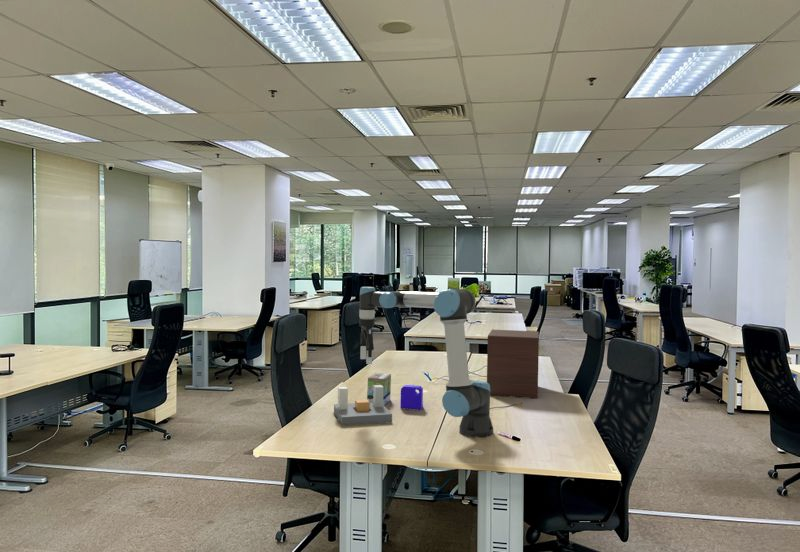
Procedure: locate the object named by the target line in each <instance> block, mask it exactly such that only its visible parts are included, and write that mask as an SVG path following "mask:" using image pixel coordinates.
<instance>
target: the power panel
mask: <svg viewBox="0 0 800 552" xmlns="http://www.w3.org/2000/svg"><path fill="white" fill-rule="evenodd" d="M333 413H334V415H335V416H336V418H337V420H338V422H339V423H340V425H341V426H342V427H344V426H358V425H359V426H360V425H361V426H362V425H376V424H375V423H377V424H387V423H386V422H392V423H393V413H392V412H391V411H390V410H389V409H388V408H387V407H386V406H385V405H383V407H376V408H375V406H374V405H373V402H370V411H358V412H356V411H355V402H352V403H350V402H349V403H348V409H340V410H339V408H338V403H336V404H335V403H334V404H333Z"/></svg>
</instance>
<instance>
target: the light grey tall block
mask: <svg viewBox="0 0 800 552" xmlns="http://www.w3.org/2000/svg"><path fill="white" fill-rule="evenodd" d="M383 392H384V387H383V386H382V385H373V405H374V406H375V408H376V407H383Z"/></svg>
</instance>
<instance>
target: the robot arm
mask: <svg viewBox="0 0 800 552" xmlns="http://www.w3.org/2000/svg"><path fill="white" fill-rule="evenodd" d="M395 307H397V308H398V307H401V308H402V307H403V308H405V307H406V308H407V307H408V308H424V309H425V308H426V309H434V311H435V313H436V314H437V315H438V316H439V322H440V323H441V324H443V327H444V338H445V349H446V361H447V370H448V371H447V372H448V381H447V383H446V384H445V392H444V394H443V395H442V397H441V399H442V400H441V402H442V407H443V409H444V410H445V412H446V413H447V414H448V415H449V416H451V417H455V418H461V417H462V418H461V421H460V424H459V427H458V428H459V433H460V434H461V435H464V436H466V437H471V438H472V437H473V438H487V437H491V436H492V435H494V427H493V423H492V419H491V415H490V412H491V409H490V408H491V407H490V405H491V395H490V385H489V383H487V381H482V380H473V379H470V377H469V375H470V374H469V366H468V365H469V364H468V353H467V344H466V343H467V342H466V341H467V340H466V334H465V333H466V332H465V331H466V330H465V323H466V322H467V320H468V314H470V313H472V312H473V310H474V309H475V308H476V296H475V295H474V294H473V292H472V291H470V290H468V289H466V288H460V289H459V288H449V289H443V290H441V291H440V292H437V291H436V292H435V291H434V292H433V291H431V292H430V291H405V290H400V291H376V288H375V287H374V286H361V287H360V290H359V310H358V313H359V320H358V322H359V323H358V326H359V327H360V329H361V331H360V338H359V344H360V351H359V352H360V355H359V356H360V357H359V359H360V360H365V362H366V365H372V364H373V351H374V349H375V347H374V337H373V335H374V334H373V329H372V327H375V325H376V324H375V321H376V320H375V316H376V315H375V314H376V313H377V312H376V311H375V310H376V308H384V309H392V308H395Z"/></svg>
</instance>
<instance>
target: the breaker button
mask: <svg viewBox="0 0 800 552" xmlns="http://www.w3.org/2000/svg"><path fill="white" fill-rule="evenodd" d="M354 403H355V411H356V412H358V411H370V402H369V401H368V400H367V398H363V399H355V400H354Z"/></svg>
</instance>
